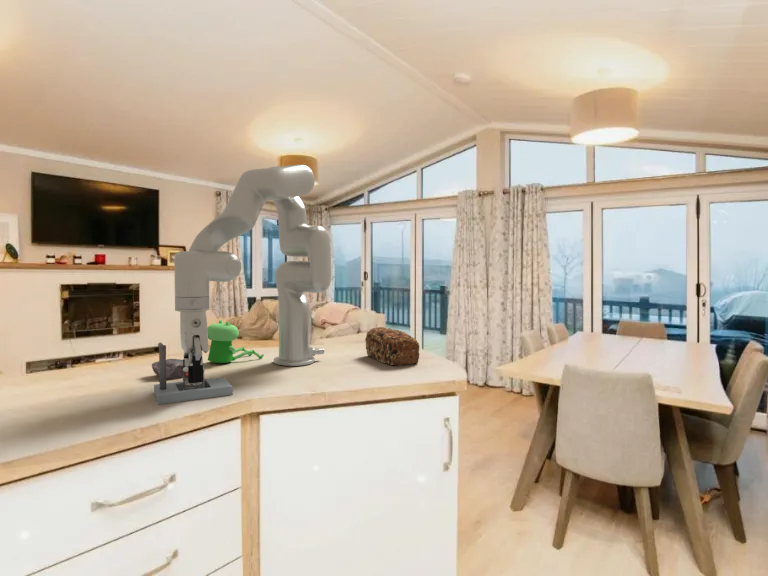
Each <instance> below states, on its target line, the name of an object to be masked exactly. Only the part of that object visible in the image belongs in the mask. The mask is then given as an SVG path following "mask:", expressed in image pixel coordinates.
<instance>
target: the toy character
mask: <svg viewBox="0 0 768 576" xmlns="http://www.w3.org/2000/svg"><path fill="white" fill-rule="evenodd" d="M207 331H208V340H210V341H211V342H210V347H209V350H208V352H209V353H208V355H207V361H209V362H211V363H213V364H227V363H231V362H234V361H235V360H237V359H239V358H242V357H244V356H246V355H248V356H249V357H251V356H253V355H255V356H256V357H257V358H259V360H262V359H263V357H264V356H265V355H264V354H259V353H258V352H257V351H255V350H254V349H252V350H247V349H246V348H245V347H243V346H241V347H239V348H236V347H234V346H233V341H235V340H236V339H237V338H238V337H239V334H240V332H239V328H238V327H237V326H236V325H234V324H231V322H230V321H226V322H225V323H224V321H223V320H222V319H219V320H218V323H212V324H210V325H207ZM238 352H242V353H239V354H237V355H235V356H234V354H236V353H238Z"/></svg>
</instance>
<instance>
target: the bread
mask: <svg viewBox="0 0 768 576" xmlns="http://www.w3.org/2000/svg"><path fill="white" fill-rule="evenodd" d="M365 350H366V354H367V356H368V357H369V356H370V357H371V358H372V359H374V358H375V359H374V360H376V359H378V360H380V361H382V362H385V363H384V364H387V363H388V364H387V365H389V364H390V365H389V366H391V365H396V366H397V365H402V366H404V365H407V364H411V365H415V364H414V363H417V364H418V363H419V359H420V344H419V342H418V340H417V339H416V338H415V337H412V336H411V335H410V334H408V333H406V332H405V331H402V330H398V329H392V328H387V327H381V326H380V327H374V328H371V329H370V330H369V331H367V332H366V335H365ZM378 360H377V361H378ZM380 361H379V362H380ZM382 362H381V363H382Z"/></svg>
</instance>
